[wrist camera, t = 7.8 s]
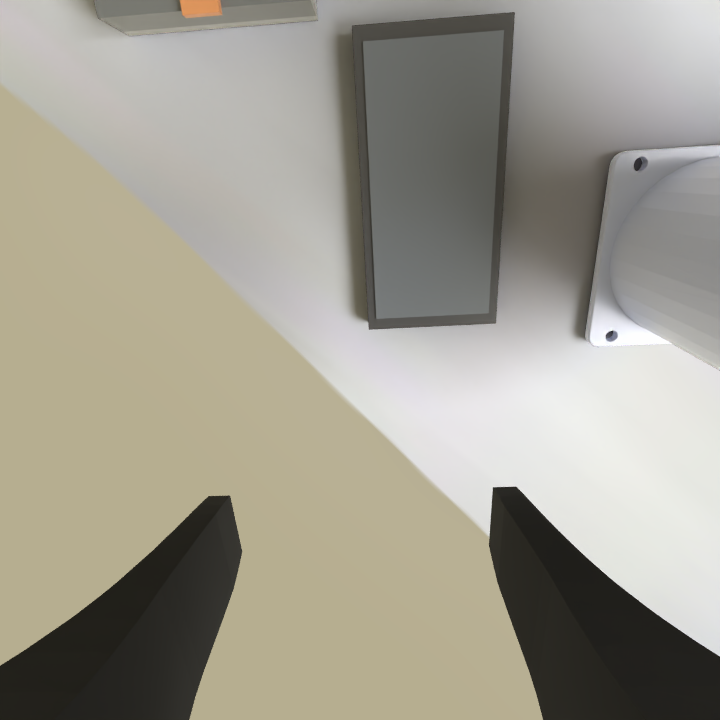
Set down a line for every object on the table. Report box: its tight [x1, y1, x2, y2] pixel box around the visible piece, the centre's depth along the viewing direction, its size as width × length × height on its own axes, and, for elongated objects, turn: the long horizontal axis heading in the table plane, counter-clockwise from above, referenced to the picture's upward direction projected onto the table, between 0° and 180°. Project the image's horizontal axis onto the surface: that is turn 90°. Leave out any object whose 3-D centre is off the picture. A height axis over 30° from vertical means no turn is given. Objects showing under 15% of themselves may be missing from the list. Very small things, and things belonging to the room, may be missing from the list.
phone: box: [352, 12, 515, 329], centre depth 17 cm, size 6×11×1 cm, turn 3°
